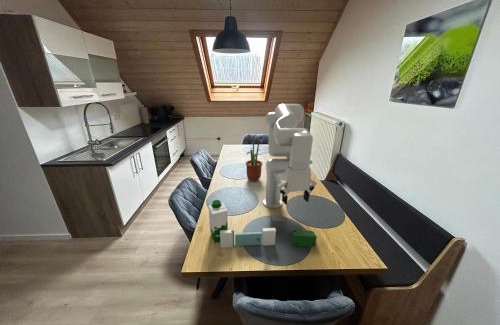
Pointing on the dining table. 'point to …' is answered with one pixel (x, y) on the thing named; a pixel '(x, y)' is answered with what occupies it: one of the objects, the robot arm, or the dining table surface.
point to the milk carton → (217, 219)
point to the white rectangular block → (228, 237)
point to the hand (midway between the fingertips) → (295, 201)
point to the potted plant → (254, 165)
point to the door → (248, 238)
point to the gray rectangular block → (277, 223)
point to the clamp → (304, 238)
